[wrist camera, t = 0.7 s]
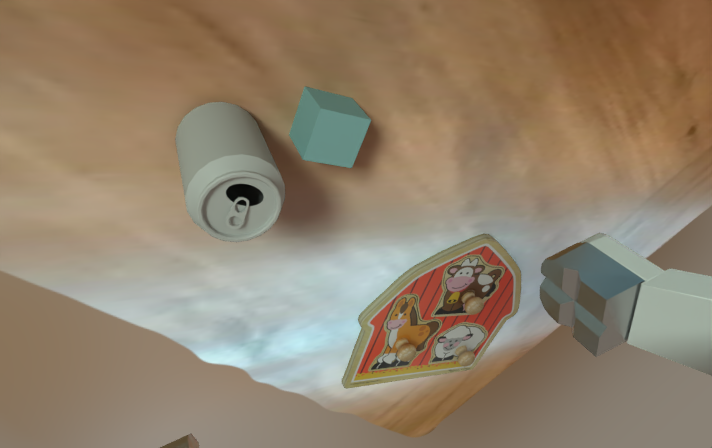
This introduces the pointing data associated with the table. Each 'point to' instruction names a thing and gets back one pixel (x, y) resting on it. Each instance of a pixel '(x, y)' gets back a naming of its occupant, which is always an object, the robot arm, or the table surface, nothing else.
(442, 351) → the knob puzzle
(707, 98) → the table surface
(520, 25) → the table surface
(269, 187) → the can
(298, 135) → the teal block
